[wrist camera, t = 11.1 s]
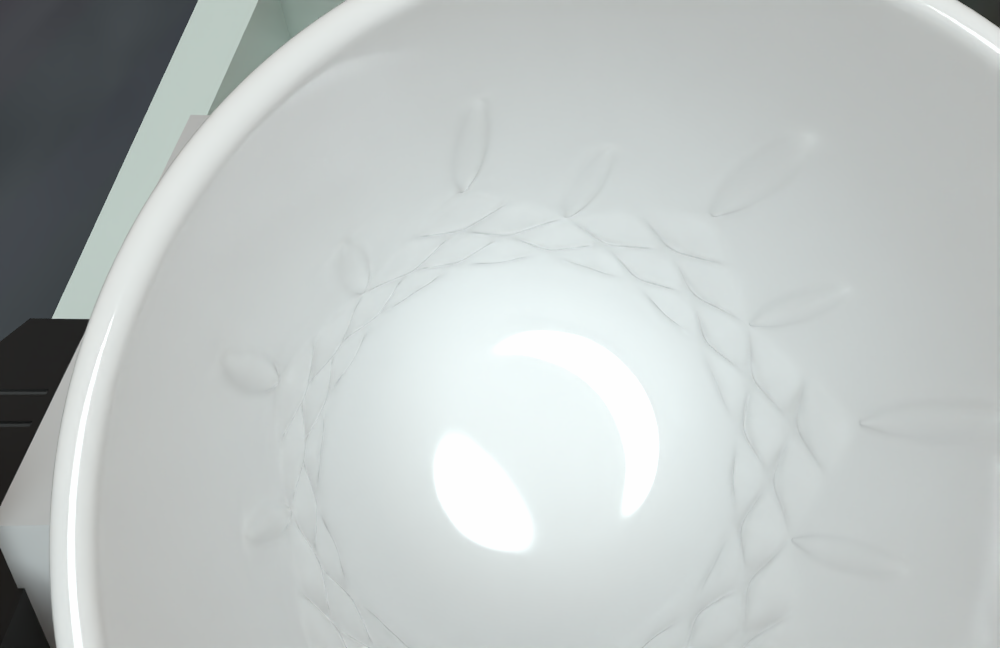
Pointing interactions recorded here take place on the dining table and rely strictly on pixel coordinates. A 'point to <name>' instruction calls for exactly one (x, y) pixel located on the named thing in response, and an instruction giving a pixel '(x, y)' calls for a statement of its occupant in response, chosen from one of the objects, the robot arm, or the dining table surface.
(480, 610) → the white cup
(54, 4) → the dining table surface
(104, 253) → the bin
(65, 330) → the robot arm
